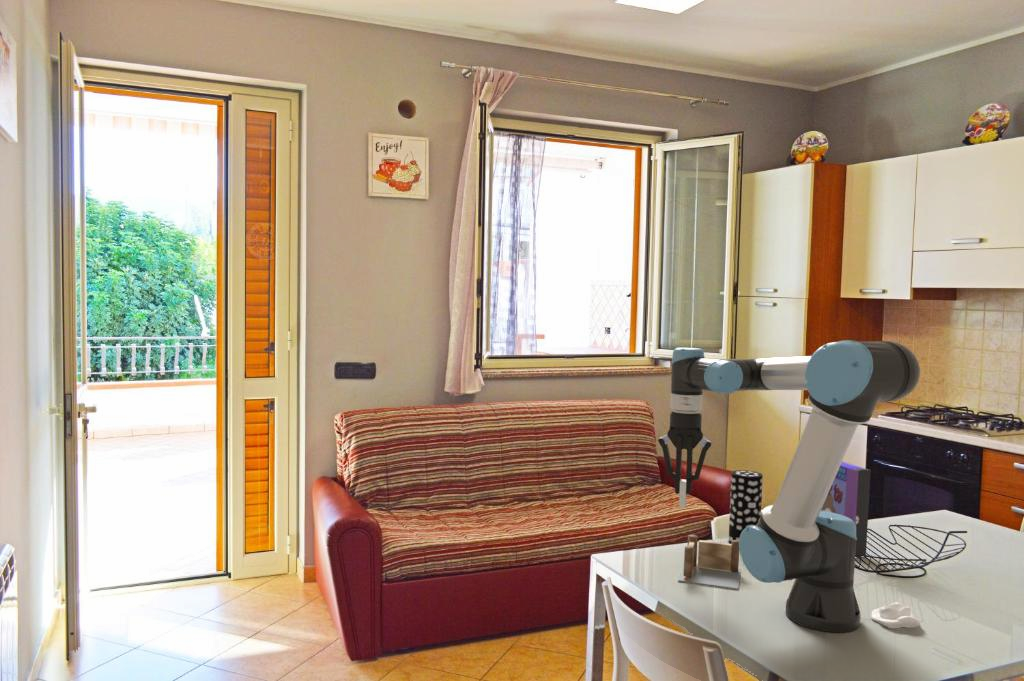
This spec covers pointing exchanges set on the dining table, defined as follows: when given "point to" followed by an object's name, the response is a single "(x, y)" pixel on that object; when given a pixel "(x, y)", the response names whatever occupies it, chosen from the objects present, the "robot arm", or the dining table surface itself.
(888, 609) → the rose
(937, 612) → the dining table surface
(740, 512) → the white-spotted black cylinder
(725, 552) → the fence fixed
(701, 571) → the card
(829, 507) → the cereal box
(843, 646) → the dining table surface
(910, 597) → the dining table surface
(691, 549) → the folding panel
